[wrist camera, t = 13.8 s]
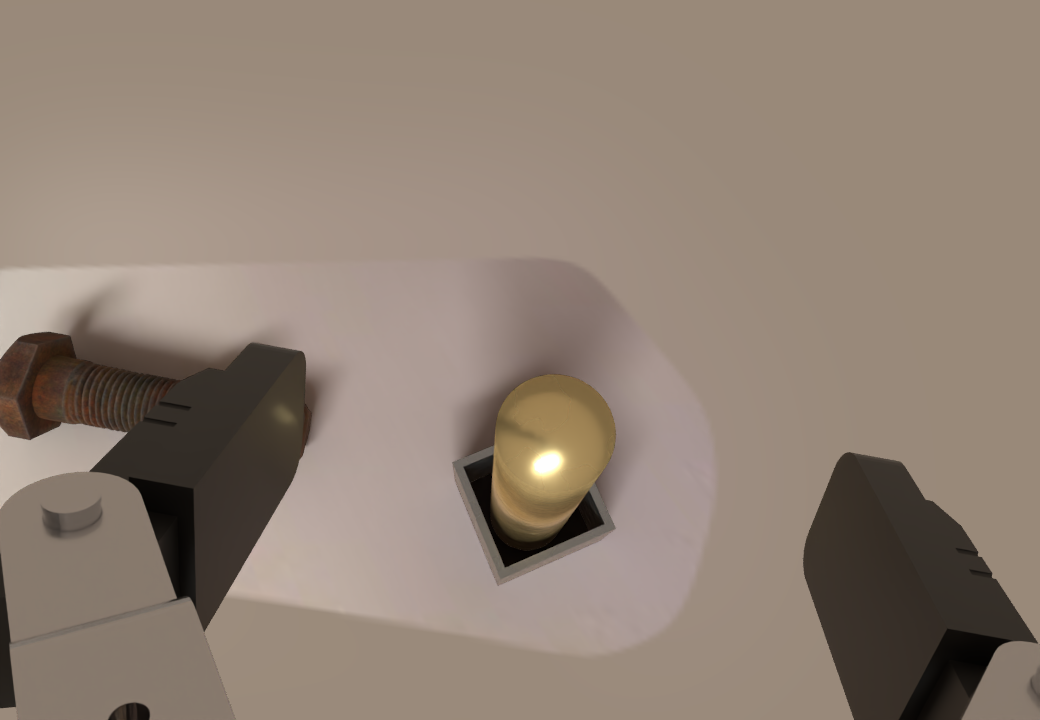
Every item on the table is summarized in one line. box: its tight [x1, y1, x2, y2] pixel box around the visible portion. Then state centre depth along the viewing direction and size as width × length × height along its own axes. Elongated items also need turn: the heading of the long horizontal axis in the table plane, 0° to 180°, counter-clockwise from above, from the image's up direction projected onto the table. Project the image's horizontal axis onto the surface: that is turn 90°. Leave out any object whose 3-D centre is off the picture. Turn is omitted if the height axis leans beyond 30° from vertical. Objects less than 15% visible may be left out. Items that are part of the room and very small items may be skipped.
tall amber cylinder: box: [490, 374, 616, 551], centre depth 35 cm, size 4×4×18 cm
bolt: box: [0, 332, 311, 458], centre depth 43 cm, size 6×5×15 cm
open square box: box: [452, 446, 616, 586], centre depth 42 cm, size 6×6×5 cm
